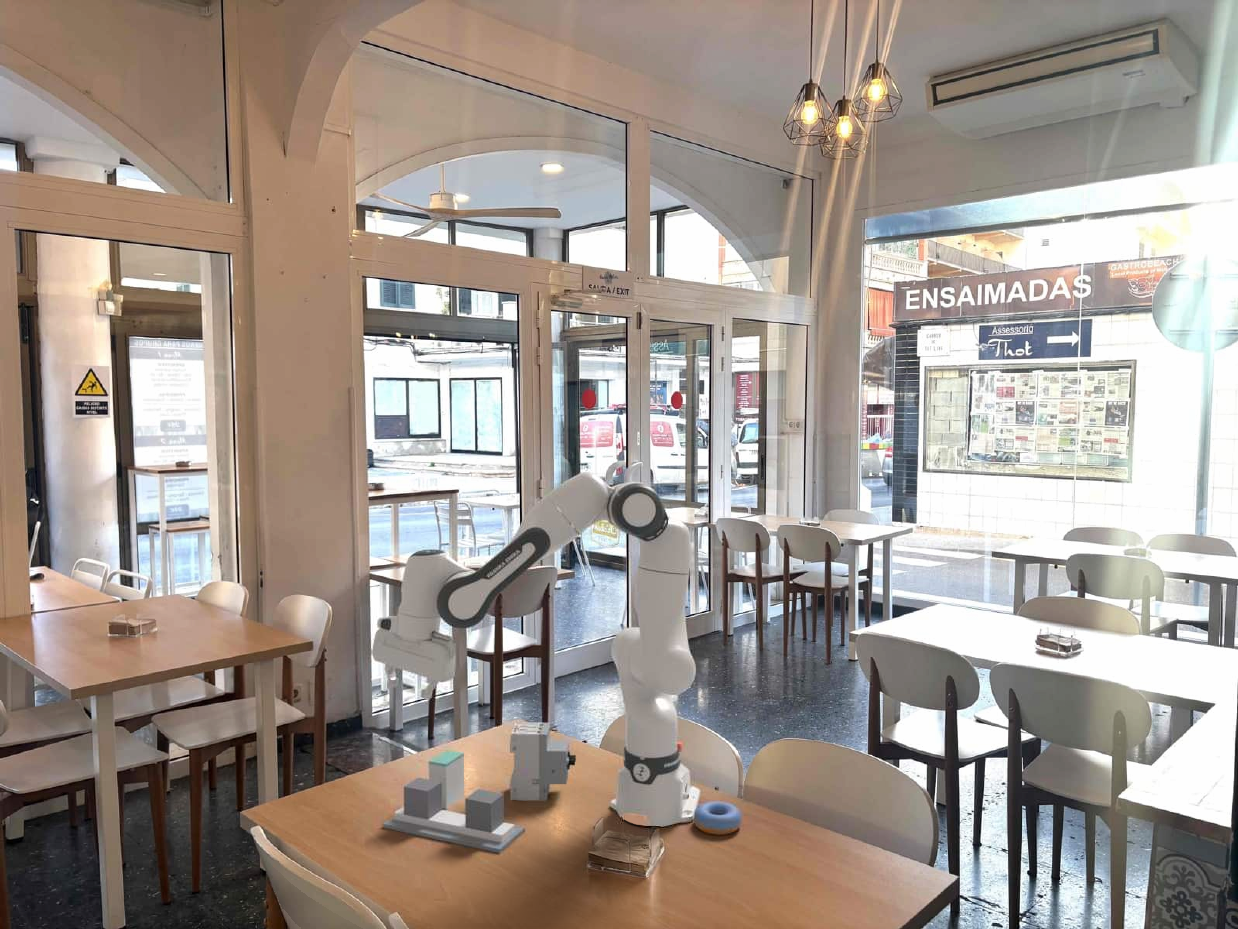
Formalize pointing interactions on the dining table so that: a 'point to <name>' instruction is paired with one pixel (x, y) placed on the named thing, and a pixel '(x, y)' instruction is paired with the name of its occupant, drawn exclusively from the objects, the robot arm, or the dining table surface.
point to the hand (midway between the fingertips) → (408, 692)
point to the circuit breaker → (537, 761)
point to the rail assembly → (454, 817)
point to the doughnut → (717, 817)
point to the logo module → (448, 776)
